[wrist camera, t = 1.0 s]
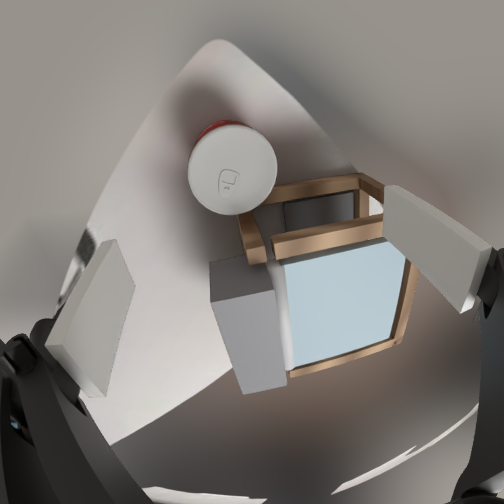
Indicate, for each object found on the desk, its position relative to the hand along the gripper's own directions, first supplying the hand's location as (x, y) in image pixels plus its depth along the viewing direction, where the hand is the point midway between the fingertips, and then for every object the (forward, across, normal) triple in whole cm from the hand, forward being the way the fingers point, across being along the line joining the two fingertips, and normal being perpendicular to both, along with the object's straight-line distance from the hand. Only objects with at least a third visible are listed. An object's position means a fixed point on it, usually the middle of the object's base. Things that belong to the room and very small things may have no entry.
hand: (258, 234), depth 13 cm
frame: (+23, +9, -15) cm, 28 cm away
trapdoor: (+12, +6, -15) cm, 20 cm away
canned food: (+23, 0, 0) cm, 23 cm away
